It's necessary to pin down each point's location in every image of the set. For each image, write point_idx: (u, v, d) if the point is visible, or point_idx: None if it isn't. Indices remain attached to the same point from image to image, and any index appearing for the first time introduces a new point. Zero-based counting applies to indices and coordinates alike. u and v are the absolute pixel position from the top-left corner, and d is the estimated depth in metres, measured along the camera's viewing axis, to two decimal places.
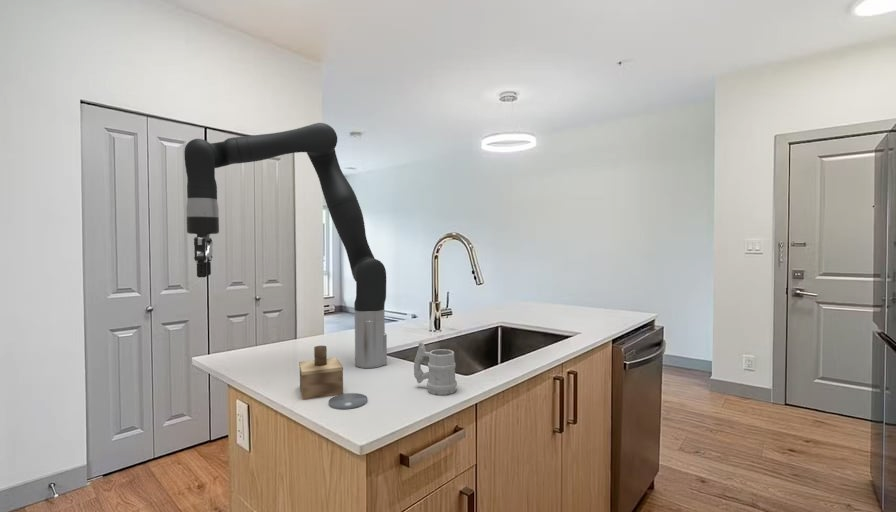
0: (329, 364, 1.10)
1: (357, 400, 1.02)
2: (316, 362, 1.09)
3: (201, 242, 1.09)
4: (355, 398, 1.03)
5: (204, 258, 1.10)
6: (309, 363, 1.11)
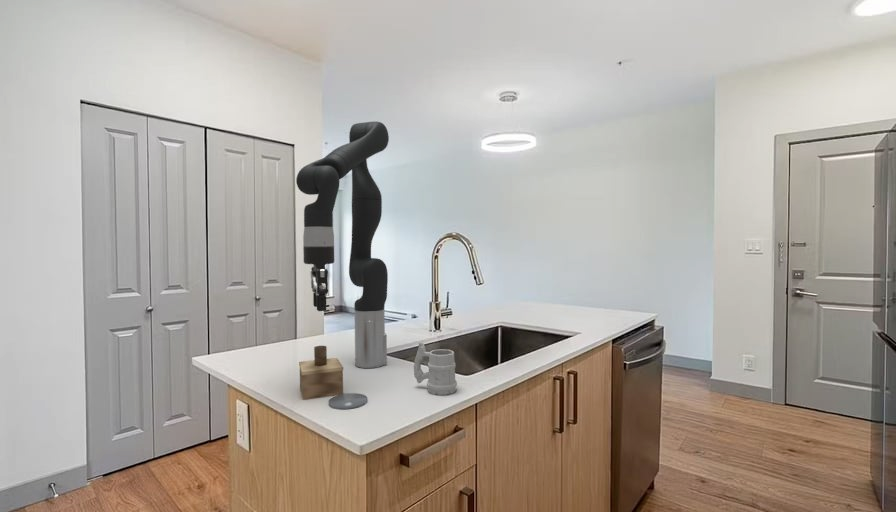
0: (329, 364, 1.10)
1: (357, 400, 1.02)
2: (316, 362, 1.09)
3: (324, 274, 1.03)
4: (355, 398, 1.03)
5: (326, 291, 1.03)
6: (309, 363, 1.11)
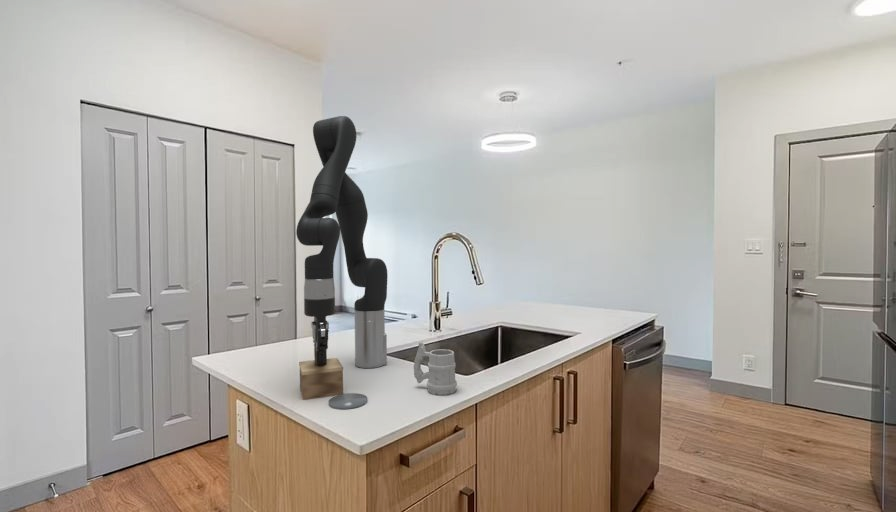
0: (329, 364, 1.10)
1: (357, 400, 1.02)
2: (316, 362, 1.09)
3: (324, 335, 1.04)
4: (355, 398, 1.03)
5: (326, 348, 1.06)
6: (309, 363, 1.11)
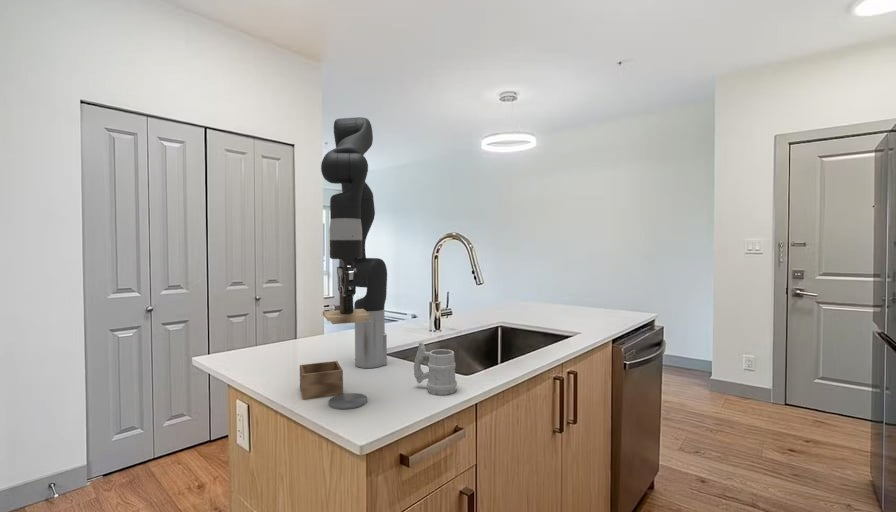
0: (356, 312, 1.01)
1: (357, 400, 1.02)
2: (342, 310, 1.00)
3: (352, 277, 0.96)
4: (355, 398, 1.03)
5: (354, 293, 0.98)
6: (334, 312, 1.02)
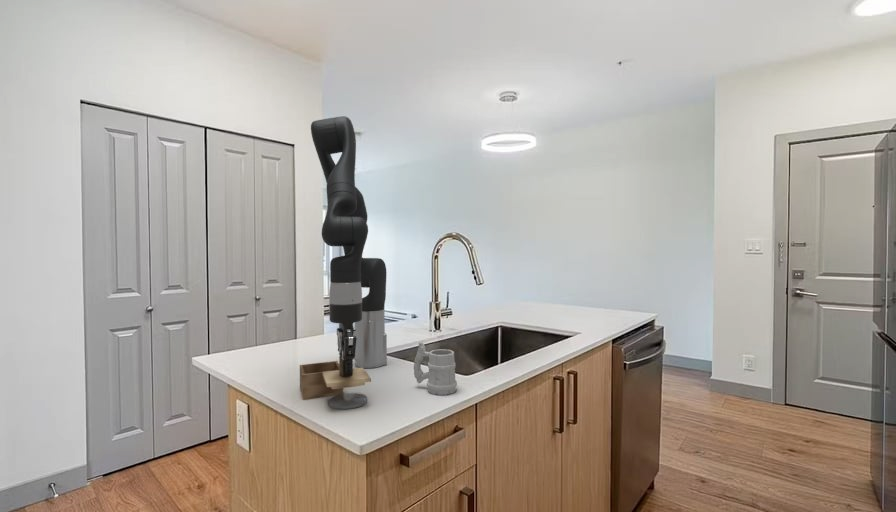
0: (355, 375, 1.01)
1: (357, 400, 1.02)
2: (341, 372, 1.00)
3: (352, 343, 0.96)
4: (355, 398, 1.03)
5: (353, 358, 0.98)
6: (333, 373, 1.03)
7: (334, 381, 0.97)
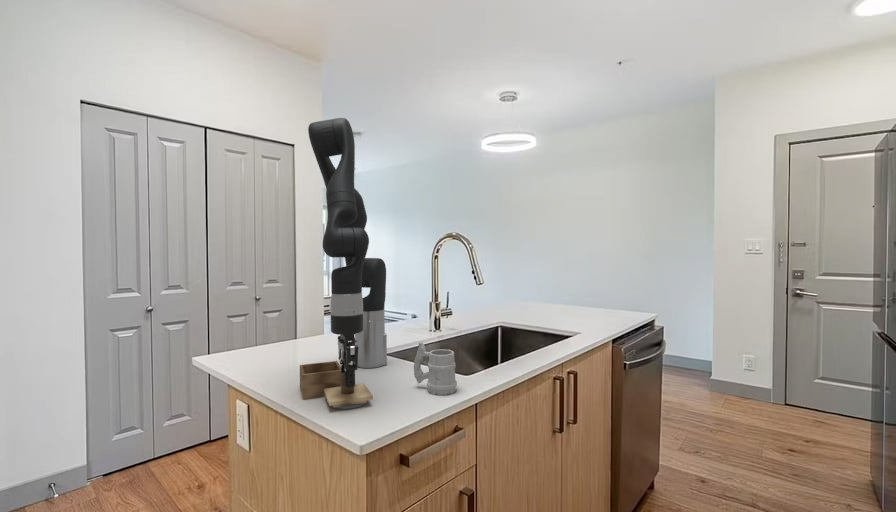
0: (357, 392, 1.02)
1: None
2: (343, 390, 1.00)
3: (354, 352, 0.96)
4: None
5: (356, 368, 0.97)
6: (335, 390, 1.03)
7: (336, 399, 0.97)
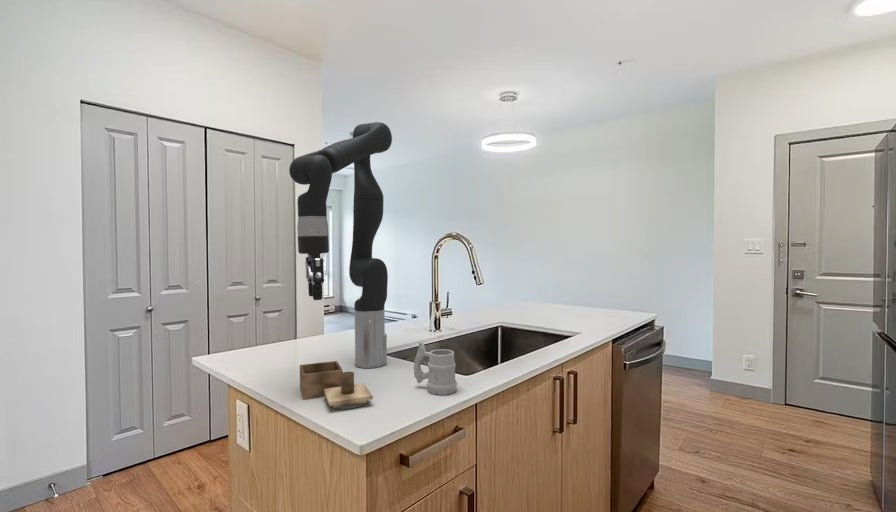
0: (357, 392, 1.02)
1: None
2: (343, 390, 1.00)
3: (319, 263, 1.04)
4: None
5: (322, 280, 1.04)
6: (335, 390, 1.03)
7: (336, 399, 0.97)
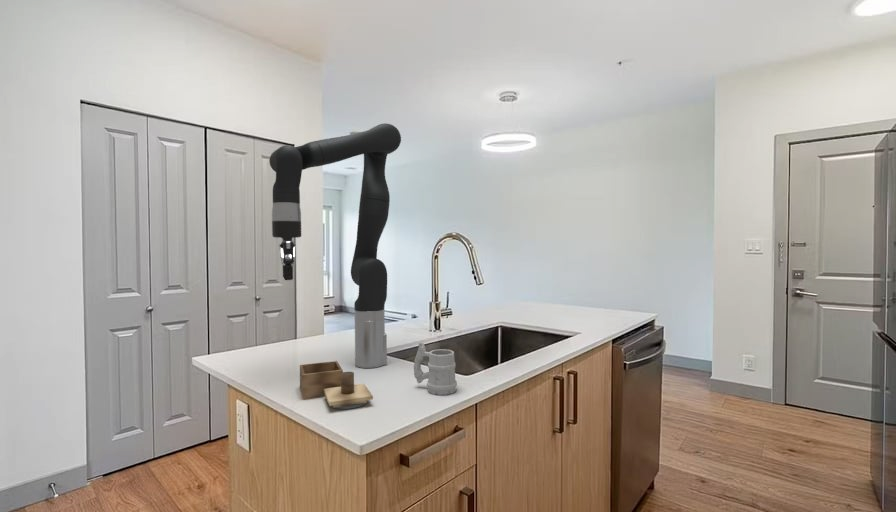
0: (357, 392, 1.02)
1: None
2: (343, 390, 1.00)
3: (289, 246, 1.12)
4: None
5: (292, 261, 1.12)
6: (335, 390, 1.03)
7: (336, 399, 0.97)
